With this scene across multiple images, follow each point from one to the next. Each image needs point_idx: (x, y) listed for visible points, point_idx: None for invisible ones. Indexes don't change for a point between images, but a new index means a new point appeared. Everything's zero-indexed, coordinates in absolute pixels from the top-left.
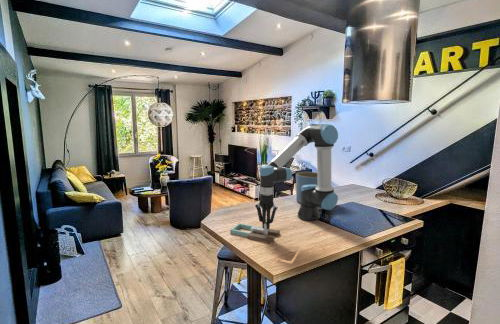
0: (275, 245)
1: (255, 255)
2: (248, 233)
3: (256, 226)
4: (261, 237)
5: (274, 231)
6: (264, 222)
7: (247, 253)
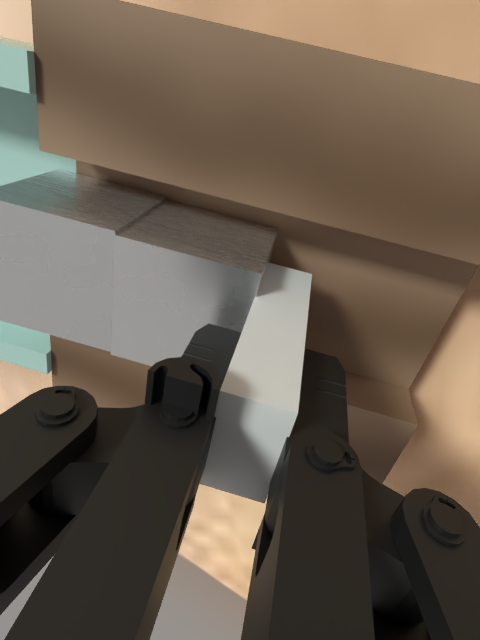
0: (423, 442)
1: (247, 572)
2: (42, 371)
3: (44, 222)
4: None
5: (450, 208)
6: (198, 484)
7: (183, 550)
